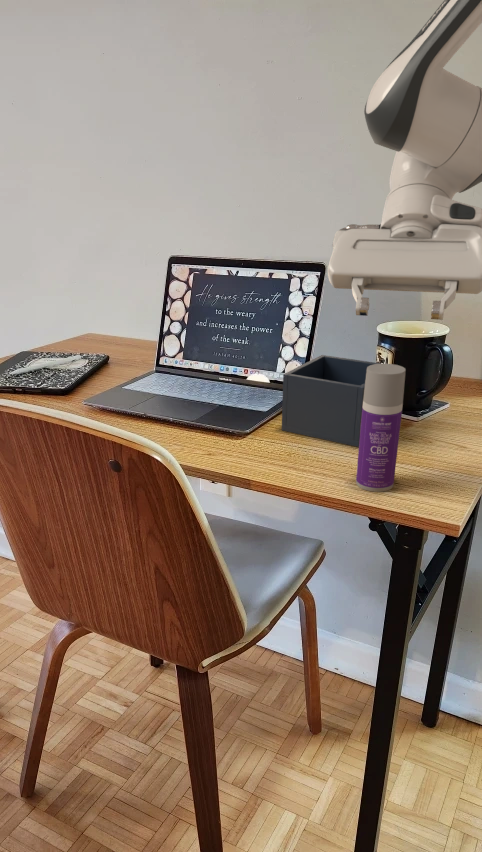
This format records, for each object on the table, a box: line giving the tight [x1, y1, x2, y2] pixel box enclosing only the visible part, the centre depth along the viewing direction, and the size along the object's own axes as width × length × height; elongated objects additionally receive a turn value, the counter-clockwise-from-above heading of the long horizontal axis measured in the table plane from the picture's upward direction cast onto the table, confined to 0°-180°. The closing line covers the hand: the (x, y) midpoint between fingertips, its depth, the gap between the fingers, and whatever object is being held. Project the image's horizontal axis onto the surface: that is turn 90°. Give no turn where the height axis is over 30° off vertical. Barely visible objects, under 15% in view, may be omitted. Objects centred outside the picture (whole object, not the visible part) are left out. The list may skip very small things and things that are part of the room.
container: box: [355, 363, 407, 493], centre depth 84 cm, size 5×5×15 cm
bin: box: [281, 354, 382, 448], centre depth 104 cm, size 13×13×9 cm
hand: (398, 315), depth 88 cm, fingers open, 8 cm apart
